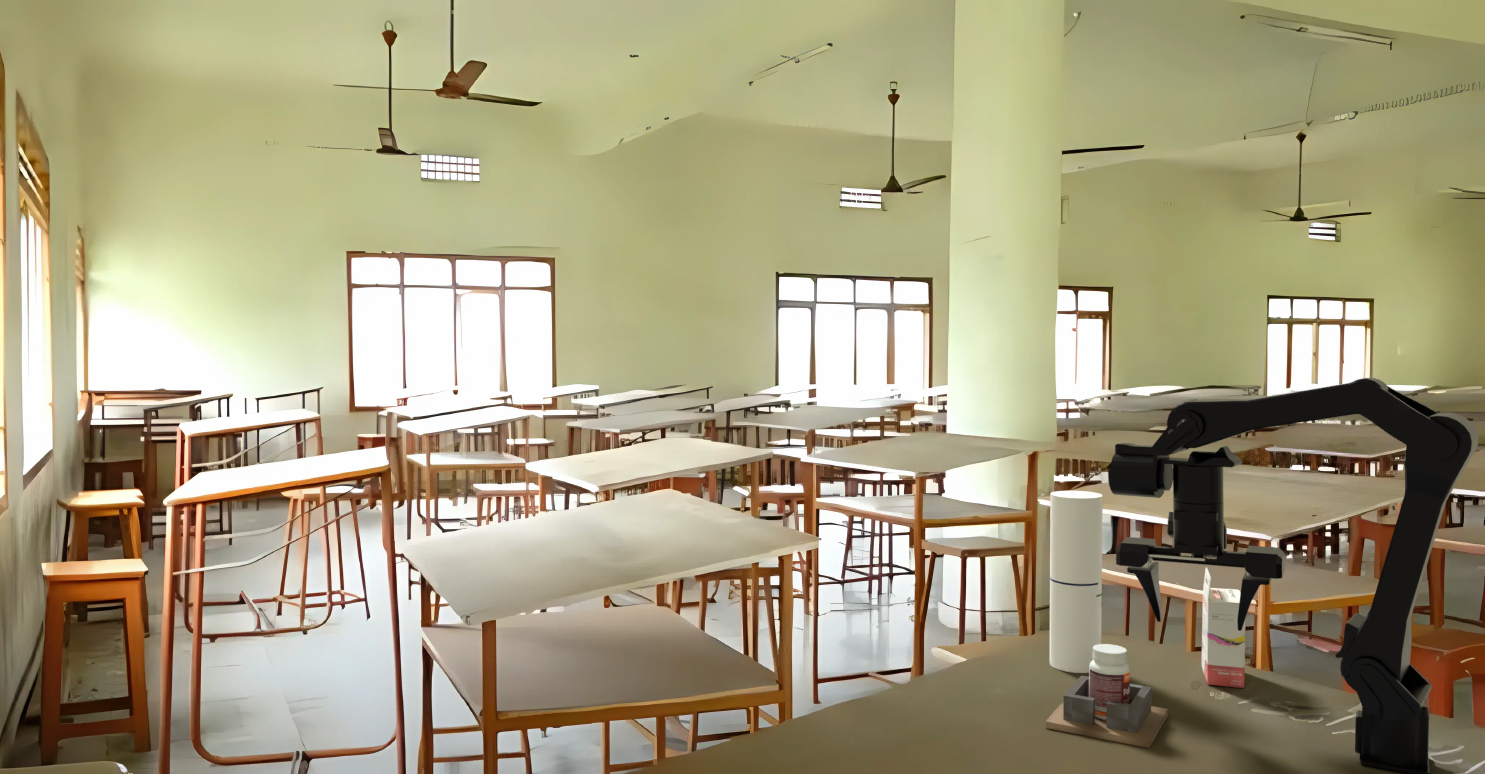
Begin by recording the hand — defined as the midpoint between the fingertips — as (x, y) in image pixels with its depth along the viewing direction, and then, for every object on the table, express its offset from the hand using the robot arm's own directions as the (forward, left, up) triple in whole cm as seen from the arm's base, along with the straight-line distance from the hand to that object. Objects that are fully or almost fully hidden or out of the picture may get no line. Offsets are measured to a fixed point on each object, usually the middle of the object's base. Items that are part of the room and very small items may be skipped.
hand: (1199, 625), depth 127 cm
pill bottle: (+9, +7, -11) cm, 16 cm away
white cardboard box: (-1, -18, -12) cm, 22 cm away
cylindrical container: (+18, -13, -12) cm, 25 cm away
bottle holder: (+9, +7, -12) cm, 17 cm away
